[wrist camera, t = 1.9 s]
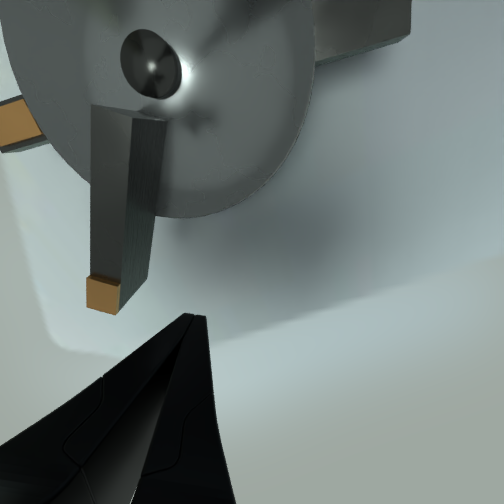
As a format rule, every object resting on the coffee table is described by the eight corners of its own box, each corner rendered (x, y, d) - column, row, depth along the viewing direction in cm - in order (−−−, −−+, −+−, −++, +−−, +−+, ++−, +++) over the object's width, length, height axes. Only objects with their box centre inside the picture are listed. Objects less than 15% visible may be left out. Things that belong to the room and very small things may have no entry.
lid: (-11, -241, 9) (-275, -587, 4) (372, -82, 10) (448, -246, 5) (38, 238, 17) (-36, 272, 13) (238, 298, 18) (228, 347, 14)
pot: (369, -154, 12) (427, -326, 7) (374, 162, 18) (408, 172, 14) (-13, 6, 16) (-125, -43, 11) (98, 222, 22) (54, 245, 18)
